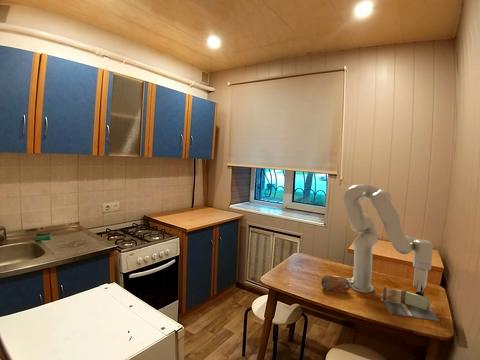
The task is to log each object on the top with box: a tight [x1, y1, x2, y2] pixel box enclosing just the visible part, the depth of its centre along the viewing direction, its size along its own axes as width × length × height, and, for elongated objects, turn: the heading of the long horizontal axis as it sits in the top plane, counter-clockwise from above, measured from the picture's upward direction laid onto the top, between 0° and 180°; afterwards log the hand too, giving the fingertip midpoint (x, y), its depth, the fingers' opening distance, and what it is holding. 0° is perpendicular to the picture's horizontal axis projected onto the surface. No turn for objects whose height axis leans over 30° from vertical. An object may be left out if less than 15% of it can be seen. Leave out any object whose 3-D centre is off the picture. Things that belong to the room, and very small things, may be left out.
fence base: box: [380, 287, 440, 322], centre depth 136 cm, size 22×19×7 cm
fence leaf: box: [406, 291, 431, 311], centre depth 134 cm, size 10×1×6 cm, turn 49°
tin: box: [320, 274, 351, 294], centre depth 151 cm, size 15×3×8 cm, turn 69°
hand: (419, 299), depth 136 cm, fingers closed
